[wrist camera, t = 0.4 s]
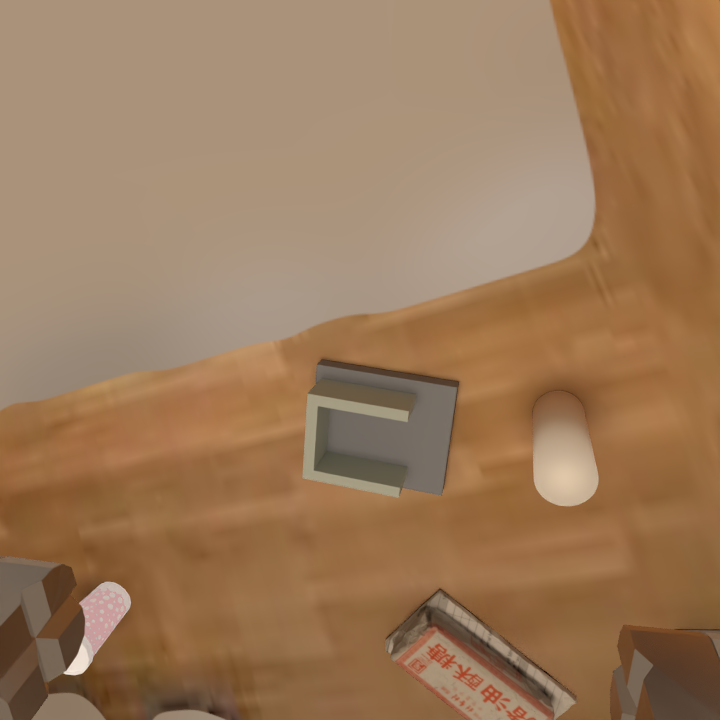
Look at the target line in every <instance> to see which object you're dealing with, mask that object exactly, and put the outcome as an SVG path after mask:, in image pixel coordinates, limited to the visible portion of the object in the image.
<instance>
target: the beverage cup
mask: <svg viewBox="0 0 720 720" xmlns="http://www.w3.org/2000/svg"><path fill="white" fill-rule="evenodd" d="M79 604H80V605H81V606H82V608H83V612H84V617H85V635H84V638H83V640H82V643H81V646H80V649H79V652H78V655H77V656H76V657H75V659H74V660H73V662H72V663H71V665H70V666H69V668H68V669H67V671H65V672H64V674H69V675H77V674H81V673H83V672H84V671H85V670H86V669H87V668H88V666H89V665H90V664H91V662H92V659H93V656H94V655H95V654H96V652H97V651H98V650H99V648H100V647H101V646H102V644H103V643H104V642H105V640H106V639H107V638H108V636H109V635H110V634H111V632H112V631H113V630H114V628H115V627H116V626H117V624H118V623H119V622H120V620H121V619H122V618H123V616H124V615H125V614H126V612H127V611H128V610H129V608H130V604H131V601H130V597H129V595H128V593H127V592H126V590H125V589H124V588H122V587H121V586H120V585H118V584H116V583H114V582H104V583H101V584H100V585H99V586H98V587H97V588H96V589H95V590H93V591H92V592H91V593H90V594H89V595H88V596H87V597H86V598H84V599H83V600H82V601H81V602H80V603H79Z"/></svg>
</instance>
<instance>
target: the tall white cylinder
mask: <svg viewBox="0 0 720 720" xmlns="http://www.w3.org/2000/svg"><path fill="white" fill-rule="evenodd" d="M532 416H533V469H534V484H535V487H536V489H537V491H538V492H539V494H540V495H541V496H542V497H543V498H545V499H546V500H547V501H549V502H551V503H553V504H556V505H560V506H574V505H578V504H581V503H583V502H585V501H587V500H588V499H589V498H590V497H591V496H592V495H593V494H594V493H595V491H596V489H597V486H598V472H597V467H596V463H595V458H594V454H593V449H592V444H591V440H590V435H589V430H588V426H587V421H586V417H585V412H584V408H583V405H582V403H581V402H580V400H579V399H578V398H577V397H576V396H574V395H573V394H571V393H568V392H565V391H551V392H548V393H546V394H544V395H542V396H541V397H540V398H539V399H538V400H537V401H536V403H535V405H534V407H533V412H532Z"/></svg>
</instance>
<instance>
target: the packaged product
mask: <svg viewBox="0 0 720 720" xmlns="http://www.w3.org/2000/svg"><path fill="white" fill-rule="evenodd" d="M385 643H386V652H388V653H390V654H391V659H392V661H394V662H396V663H397V664H398V665H399V666H401V667H402V668H403V669H404V670H405V671H406V672H407V673H409V674H410V675H411V676H412V677H413V678H415V679H416V680H417V681H419V682H420V683H421V684H423V685H424V686H425V687H426V688H427V689H428V690H430V691H431V692H433V693H434V694H435V695H436V696H437V697H439V698H440V699H441V700H443V701H444V702H445V703H446V704H447V705H449V706H450V707H451V708H453V709H454V710H455V711H456V712H457V713H459V714H460V715H461V716H463V717H464V718H465V719H466V720H555V719H556V718H557V717H559V716H560V715H561V714H563V713H564V712H565V711H567V710H568V709H569V708H570V706H571V705H573V704H574V703H577V700H576V697H575V696H574V695H573V694H572V693H571V692H569V691H568V690H567V689H566V688H565V687H564V686H562V685H561V684H560V683H558V682H557V681H556V680H554V679H553V678H551V677H550V676H549V675H547V674H546V673H545V672H544V671H542V670H541V669H540V668H539V667H537V666H536V665H535V664H534V663H532V662H531V661H530V660H529V659H528V658H526V657H525V656H524V655H523V654H522V653H520V652H519V651H518V650H517V649H516V648H514V647H513V646H512V645H510V644H509V643H508V642H507V641H506V640H505V639H504V638H503V637H501V636H500V635H499V634H498V633H496V632H495V631H494V630H493V629H491V628H490V627H488V626H487V625H485V624H484V623H482V622H481V621H479V620H478V619H477V618H476V617H475V616H474V615H473V614H471V613H470V612H469V611H467V610H466V609H465V608H464V607H462V606H461V605H460V604H459V603H457V602H456V601H455V600H454V599H452V598H451V597H450V596H448V595H447V594H446V593H444V592H443V591H442V590H441V589H440V590H439V591H438V592H437V593H435V594H434V595H433V596H432V597H431V598H430V599H429V600H428V601H427V602H425V603H424V604H423V605H422V606H421V607H420V608H419V609H418V610H417V611H416V612H415V613H413V614H412V616H411V617H410V618H409V619H408V620H407V621H405V622H404V623H403V624H402V625H401V626H400V627H399V628H398V629H397V630H396V631H395V632H394V633H392V634H391V635H390V636H389V637H388V638H387V639H386V640H385Z"/></svg>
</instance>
